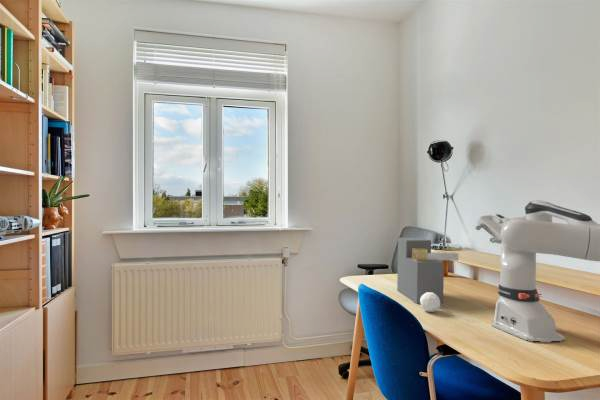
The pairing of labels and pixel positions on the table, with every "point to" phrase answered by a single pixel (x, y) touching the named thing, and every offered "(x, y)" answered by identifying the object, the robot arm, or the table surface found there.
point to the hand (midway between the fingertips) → (483, 234)
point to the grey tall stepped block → (418, 271)
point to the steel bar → (431, 255)
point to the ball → (430, 302)
